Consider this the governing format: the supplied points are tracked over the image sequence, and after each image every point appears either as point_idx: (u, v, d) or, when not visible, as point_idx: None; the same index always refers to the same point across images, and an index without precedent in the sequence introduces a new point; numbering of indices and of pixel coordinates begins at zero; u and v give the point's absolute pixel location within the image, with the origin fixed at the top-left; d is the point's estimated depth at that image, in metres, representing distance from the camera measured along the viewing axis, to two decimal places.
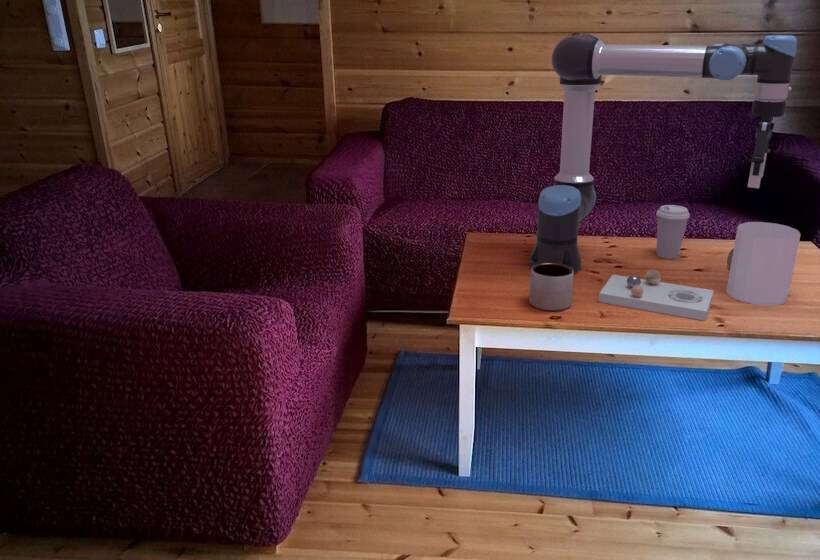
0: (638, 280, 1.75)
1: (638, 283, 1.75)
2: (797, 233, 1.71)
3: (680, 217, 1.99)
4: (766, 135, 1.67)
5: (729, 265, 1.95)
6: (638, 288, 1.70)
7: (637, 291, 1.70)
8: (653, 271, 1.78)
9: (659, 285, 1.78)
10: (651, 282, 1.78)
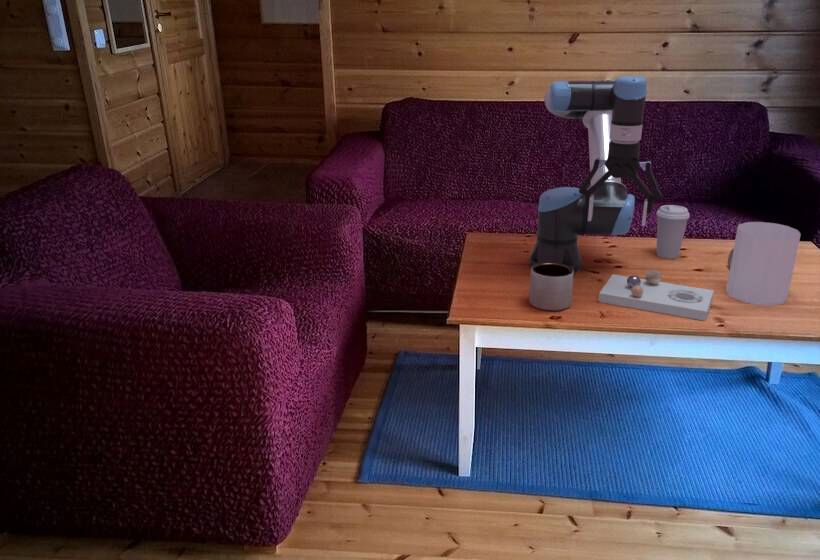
0: (638, 280, 1.75)
1: (638, 283, 1.75)
2: (797, 233, 1.71)
3: (680, 217, 1.99)
4: (591, 170, 1.73)
5: (730, 264, 1.96)
6: (638, 288, 1.70)
7: (637, 291, 1.70)
8: (653, 271, 1.78)
9: (659, 285, 1.78)
10: (651, 282, 1.78)
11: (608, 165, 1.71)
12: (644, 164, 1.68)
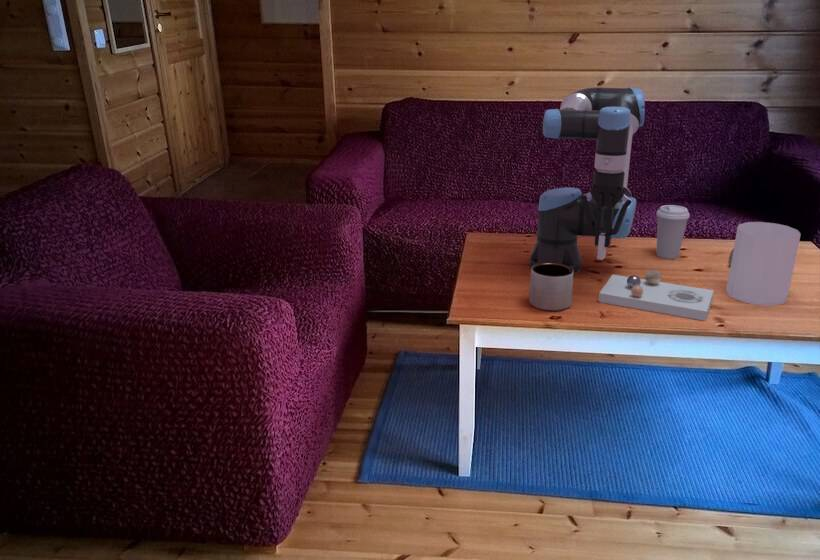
0: (638, 280, 1.75)
1: (638, 283, 1.75)
2: (797, 233, 1.71)
3: (680, 217, 1.99)
4: None
5: (730, 263, 1.96)
6: (638, 288, 1.70)
7: (637, 291, 1.70)
8: (653, 271, 1.78)
9: (659, 285, 1.78)
10: (651, 282, 1.78)
11: (594, 193, 1.73)
12: (626, 199, 1.70)
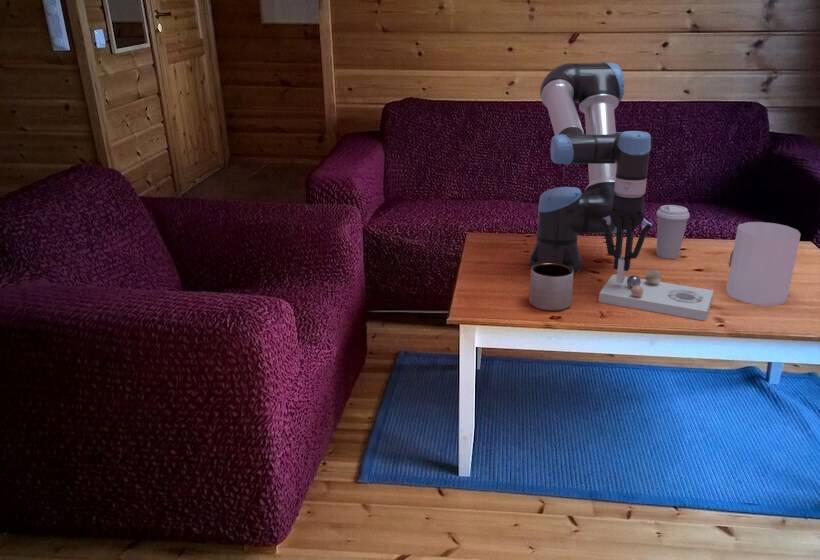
0: (638, 280, 1.75)
1: (638, 283, 1.75)
2: (797, 233, 1.71)
3: (680, 217, 1.99)
4: None
5: None
6: (638, 288, 1.70)
7: (637, 291, 1.70)
8: (653, 271, 1.78)
9: (659, 285, 1.78)
10: (651, 282, 1.78)
11: (614, 217, 1.72)
12: (646, 223, 1.69)
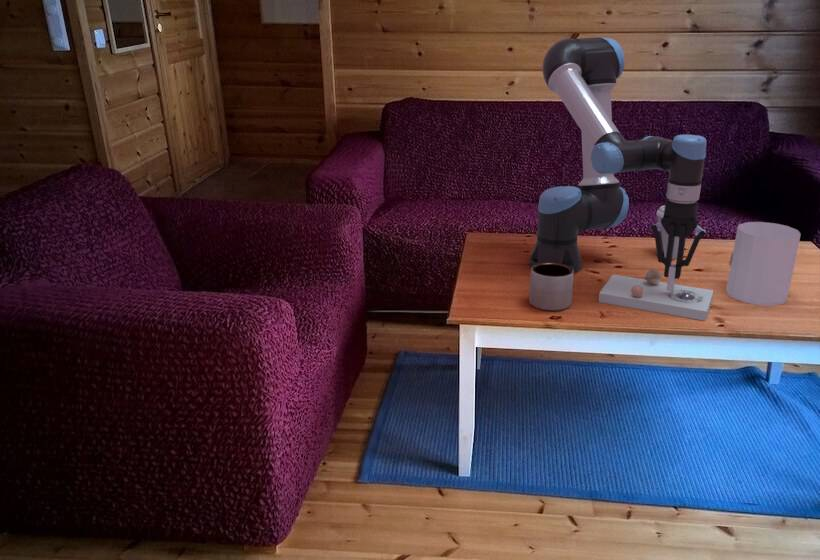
0: None
1: None
2: (797, 233, 1.71)
3: None
4: None
5: None
6: (638, 288, 1.70)
7: (637, 291, 1.70)
8: (653, 271, 1.78)
9: (659, 285, 1.78)
10: (651, 282, 1.78)
11: (665, 224, 1.67)
12: (699, 230, 1.64)
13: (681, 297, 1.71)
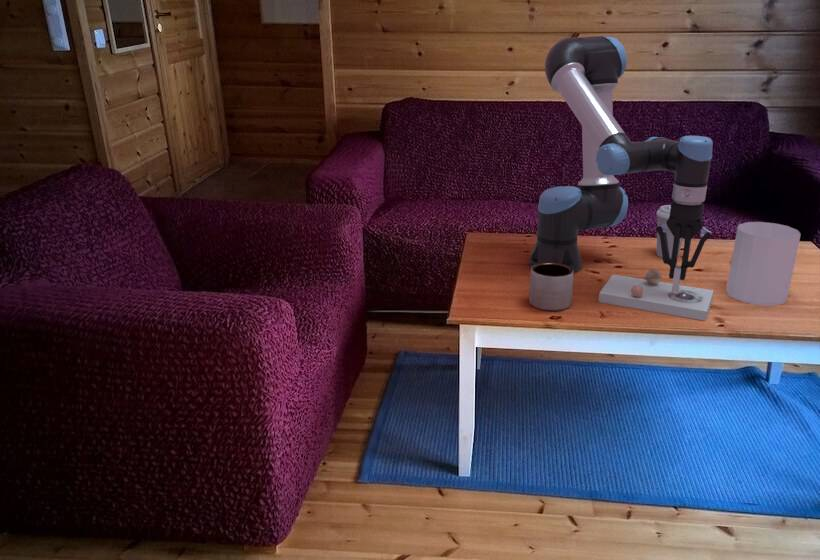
0: None
1: None
2: (797, 233, 1.71)
3: None
4: None
5: None
6: (638, 288, 1.70)
7: (637, 291, 1.70)
8: (653, 271, 1.78)
9: (659, 285, 1.78)
10: (651, 282, 1.78)
11: (671, 225, 1.66)
12: (705, 231, 1.64)
13: None
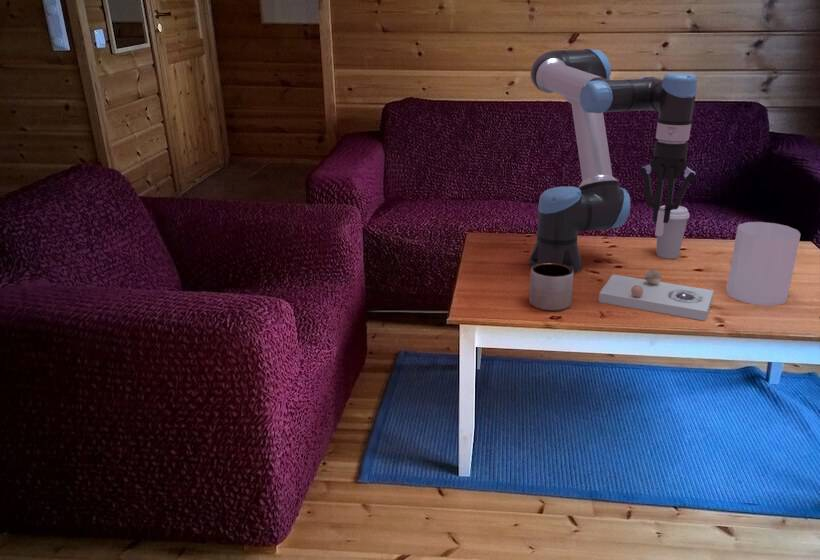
0: None
1: None
2: (797, 233, 1.71)
3: (680, 217, 1.99)
4: None
5: None
6: (638, 288, 1.70)
7: (637, 291, 1.70)
8: (653, 271, 1.78)
9: (659, 285, 1.78)
10: (651, 282, 1.78)
11: (654, 166, 1.64)
12: (689, 172, 1.61)
13: None
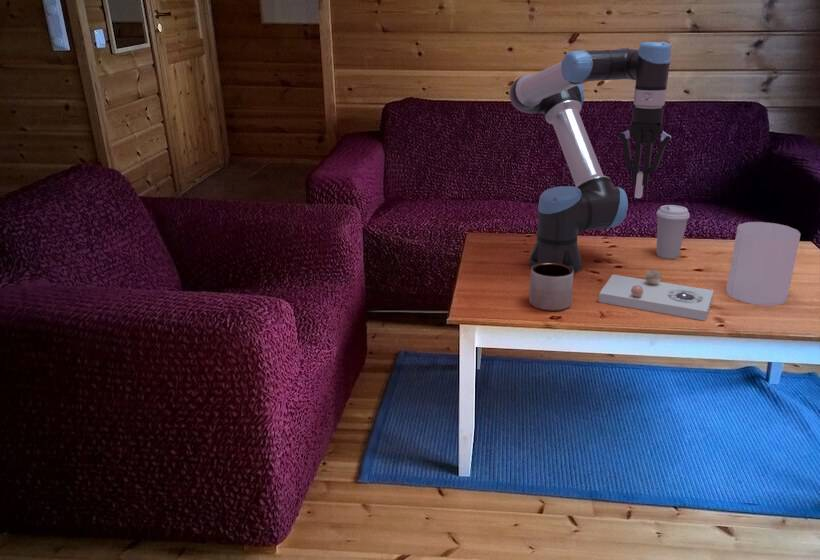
0: None
1: None
2: (797, 233, 1.71)
3: (680, 217, 1.99)
4: None
5: None
6: (638, 288, 1.70)
7: (637, 291, 1.70)
8: (653, 271, 1.78)
9: (659, 285, 1.78)
10: (651, 282, 1.78)
11: (633, 131, 1.73)
12: (665, 135, 1.70)
13: None
